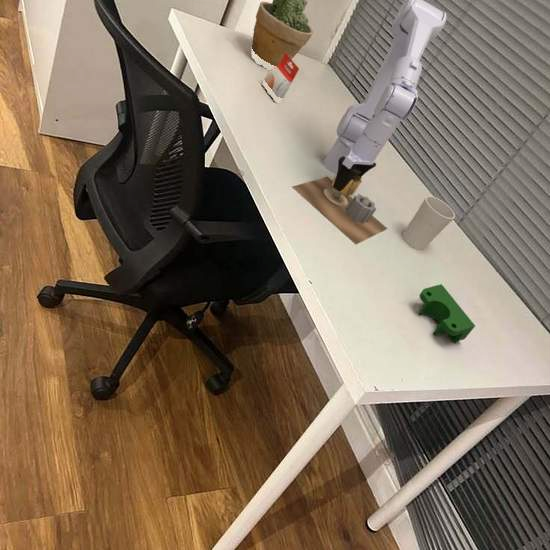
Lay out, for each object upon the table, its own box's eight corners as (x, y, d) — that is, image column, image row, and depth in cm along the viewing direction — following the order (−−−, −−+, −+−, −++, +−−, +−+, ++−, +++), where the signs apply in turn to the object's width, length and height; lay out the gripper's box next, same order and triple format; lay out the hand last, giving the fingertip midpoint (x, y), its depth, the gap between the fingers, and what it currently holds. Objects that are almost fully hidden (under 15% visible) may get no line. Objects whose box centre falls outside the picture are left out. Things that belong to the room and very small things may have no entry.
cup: (425, 245, 137) (455, 209, 130) (423, 261, 130) (454, 223, 123) (398, 229, 137) (426, 191, 130) (394, 243, 130) (424, 205, 123)
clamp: (407, 324, 117) (413, 286, 113) (428, 317, 119) (435, 280, 115) (448, 353, 107) (457, 313, 103) (470, 345, 110) (479, 306, 106)
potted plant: (244, 41, 186) (276, -34, 171) (293, 67, 189) (328, -4, 175) (236, 58, 171) (270, -23, 157) (289, 85, 175) (328, 9, 160)
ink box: (274, 102, 159) (292, 66, 152) (260, 85, 164) (277, 49, 157) (281, 104, 161) (300, 69, 154) (268, 87, 166) (285, 52, 159)
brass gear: (342, 180, 132) (351, 166, 130) (357, 195, 130) (366, 182, 128) (327, 180, 129) (336, 166, 126) (342, 196, 126) (351, 182, 124)
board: (325, 180, 138) (336, 161, 134) (384, 232, 132) (398, 214, 129) (289, 190, 126) (300, 170, 122) (353, 248, 120) (367, 228, 117)
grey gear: (353, 205, 132) (362, 192, 130) (370, 220, 130) (380, 207, 128) (342, 210, 128) (350, 196, 125) (359, 225, 126) (369, 212, 124)
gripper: (372, 123, 128) (343, 169, 136) (346, 130, 116) (315, 181, 124) (396, 141, 126) (365, 187, 134) (371, 150, 115) (339, 200, 123)
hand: (342, 185), depth 129 cm, fingers closed on brass gear, 6 cm apart
